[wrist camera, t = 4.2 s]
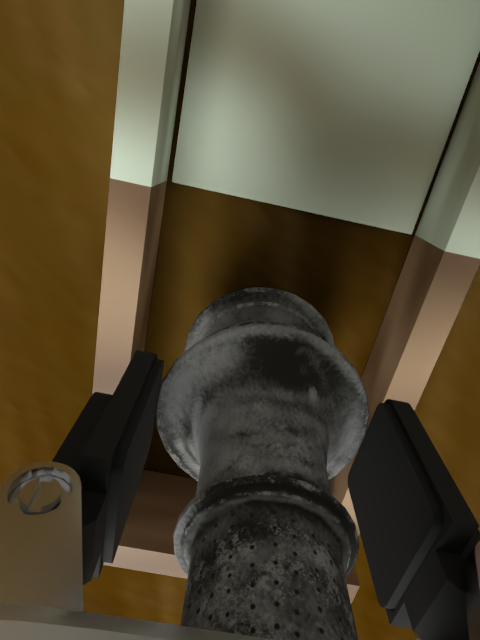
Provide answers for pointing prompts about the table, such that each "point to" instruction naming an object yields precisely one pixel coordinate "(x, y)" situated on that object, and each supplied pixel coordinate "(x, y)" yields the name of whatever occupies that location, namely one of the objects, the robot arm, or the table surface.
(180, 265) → the table surface
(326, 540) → the grey chess piece
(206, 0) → the bay
